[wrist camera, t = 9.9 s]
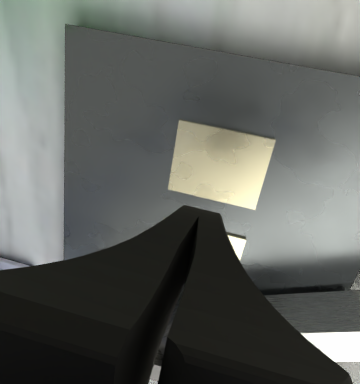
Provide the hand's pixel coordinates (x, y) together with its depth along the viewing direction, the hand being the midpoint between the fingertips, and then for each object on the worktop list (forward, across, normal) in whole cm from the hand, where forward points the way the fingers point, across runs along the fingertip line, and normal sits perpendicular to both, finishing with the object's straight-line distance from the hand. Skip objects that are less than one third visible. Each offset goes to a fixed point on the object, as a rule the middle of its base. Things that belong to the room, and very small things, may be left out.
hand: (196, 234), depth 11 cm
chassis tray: (+8, 0, +4) cm, 9 cm away
